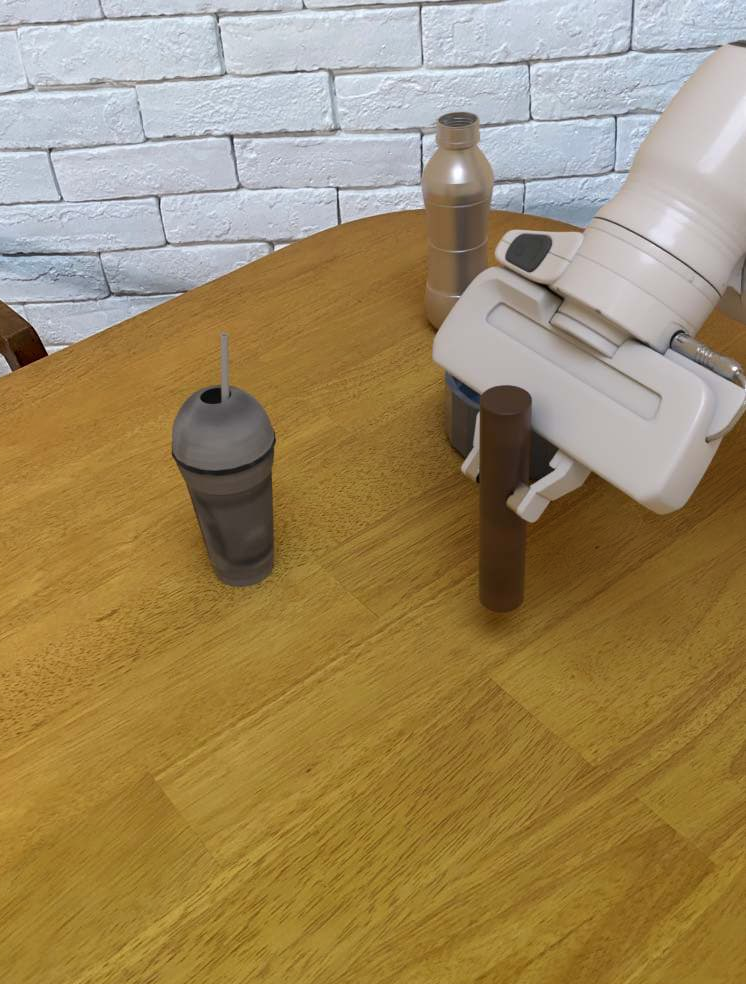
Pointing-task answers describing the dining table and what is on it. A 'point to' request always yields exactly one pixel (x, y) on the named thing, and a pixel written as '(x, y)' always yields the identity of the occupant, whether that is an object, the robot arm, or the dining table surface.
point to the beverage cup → (229, 476)
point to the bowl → (462, 422)
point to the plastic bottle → (455, 212)
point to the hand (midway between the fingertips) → (495, 496)
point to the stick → (502, 495)
